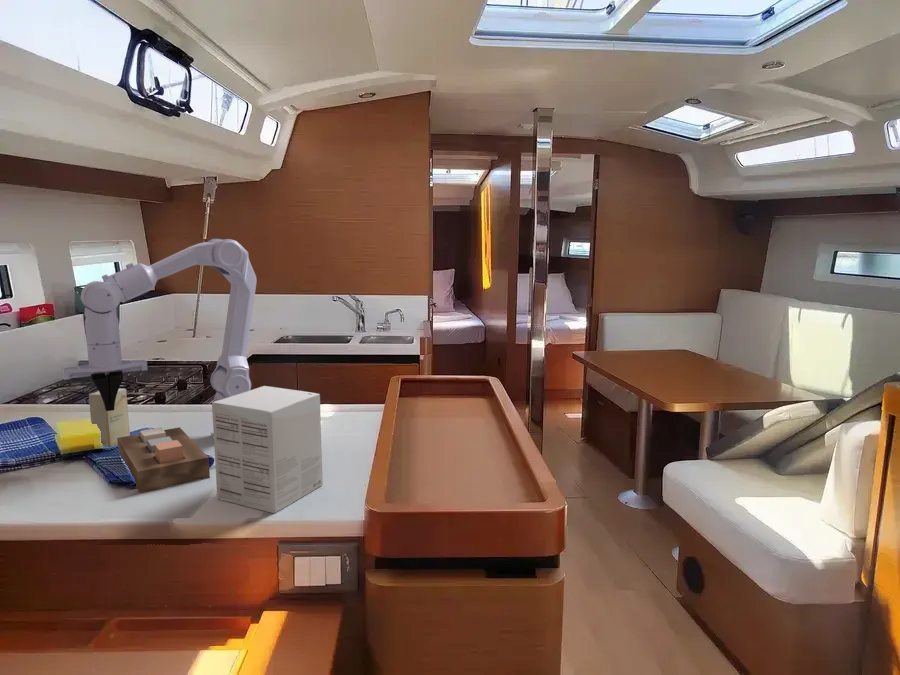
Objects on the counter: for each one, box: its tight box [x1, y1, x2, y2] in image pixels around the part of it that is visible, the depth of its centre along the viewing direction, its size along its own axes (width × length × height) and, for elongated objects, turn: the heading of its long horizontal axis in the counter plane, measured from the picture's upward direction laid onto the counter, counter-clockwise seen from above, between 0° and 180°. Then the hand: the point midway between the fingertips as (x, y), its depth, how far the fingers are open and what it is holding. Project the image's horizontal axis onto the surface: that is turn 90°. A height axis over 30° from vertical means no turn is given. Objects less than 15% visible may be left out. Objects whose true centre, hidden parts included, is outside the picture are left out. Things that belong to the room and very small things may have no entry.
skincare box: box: [88, 387, 131, 447], centre depth 131 cm, size 6×4×12 cm
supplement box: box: [211, 385, 324, 514], centre depth 107 cm, size 13×13×18 cm
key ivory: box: [139, 427, 166, 443], centre depth 125 cm, size 4×4×4 cm
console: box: [117, 426, 211, 494], centre depth 120 cm, size 12×22×4 cm, turn 37°
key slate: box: [147, 436, 173, 453], centre depth 120 cm, size 4×4×4 cm
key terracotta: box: [154, 440, 183, 464], centre depth 114 cm, size 4×4×4 cm
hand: (109, 409), depth 122 cm, fingers closed
